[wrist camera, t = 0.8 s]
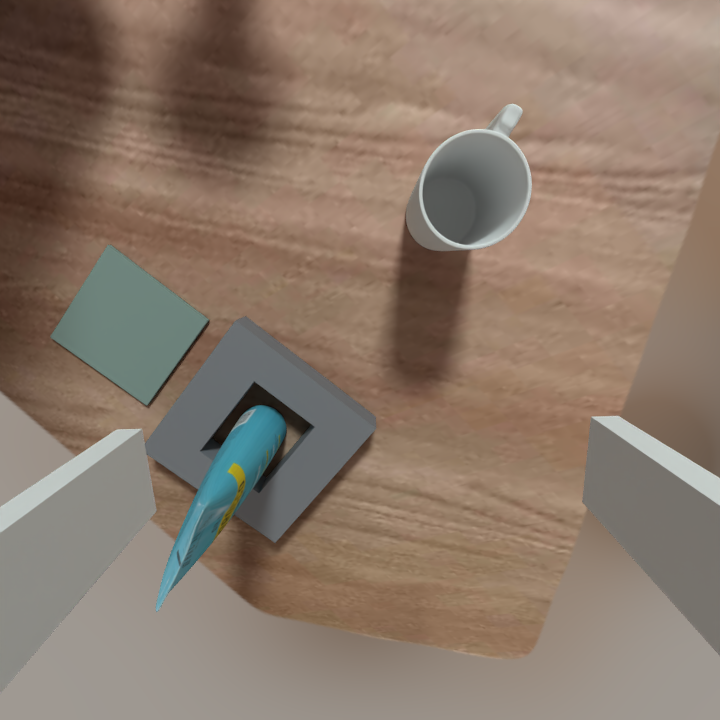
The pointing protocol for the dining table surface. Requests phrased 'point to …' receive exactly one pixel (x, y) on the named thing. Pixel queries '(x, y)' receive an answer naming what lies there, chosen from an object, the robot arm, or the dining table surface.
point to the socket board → (293, 388)
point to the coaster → (128, 326)
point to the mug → (471, 189)
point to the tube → (224, 488)
